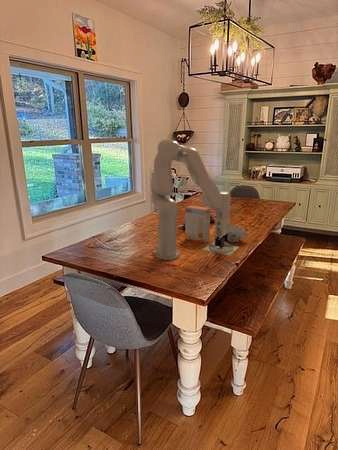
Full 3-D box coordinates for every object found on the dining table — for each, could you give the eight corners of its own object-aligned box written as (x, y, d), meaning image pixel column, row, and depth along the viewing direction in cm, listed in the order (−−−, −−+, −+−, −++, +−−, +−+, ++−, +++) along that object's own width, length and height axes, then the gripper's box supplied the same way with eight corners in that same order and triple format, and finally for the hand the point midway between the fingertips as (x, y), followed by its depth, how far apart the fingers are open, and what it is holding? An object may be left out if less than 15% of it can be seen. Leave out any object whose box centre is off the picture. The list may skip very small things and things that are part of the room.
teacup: (219, 242, 189) (220, 229, 187) (226, 236, 200) (226, 224, 198) (244, 246, 183) (245, 233, 180) (249, 240, 193) (250, 227, 191)
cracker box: (209, 241, 191) (210, 207, 185) (204, 244, 187) (205, 209, 181) (190, 237, 199) (190, 204, 193) (184, 239, 195) (185, 206, 188)
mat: (202, 249, 178) (202, 249, 178) (213, 242, 190) (213, 241, 190) (229, 255, 169) (229, 255, 169) (239, 247, 181) (239, 246, 181)
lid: (204, 249, 178) (204, 239, 176) (215, 242, 189) (215, 232, 187) (227, 254, 170) (228, 243, 168) (237, 246, 181) (238, 236, 180)
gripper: (222, 218, 165) (221, 249, 170) (235, 211, 179) (233, 240, 184) (209, 216, 169) (208, 246, 174) (222, 210, 183) (221, 238, 188)
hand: (221, 243), depth 179 cm, fingers open, 9 cm apart
